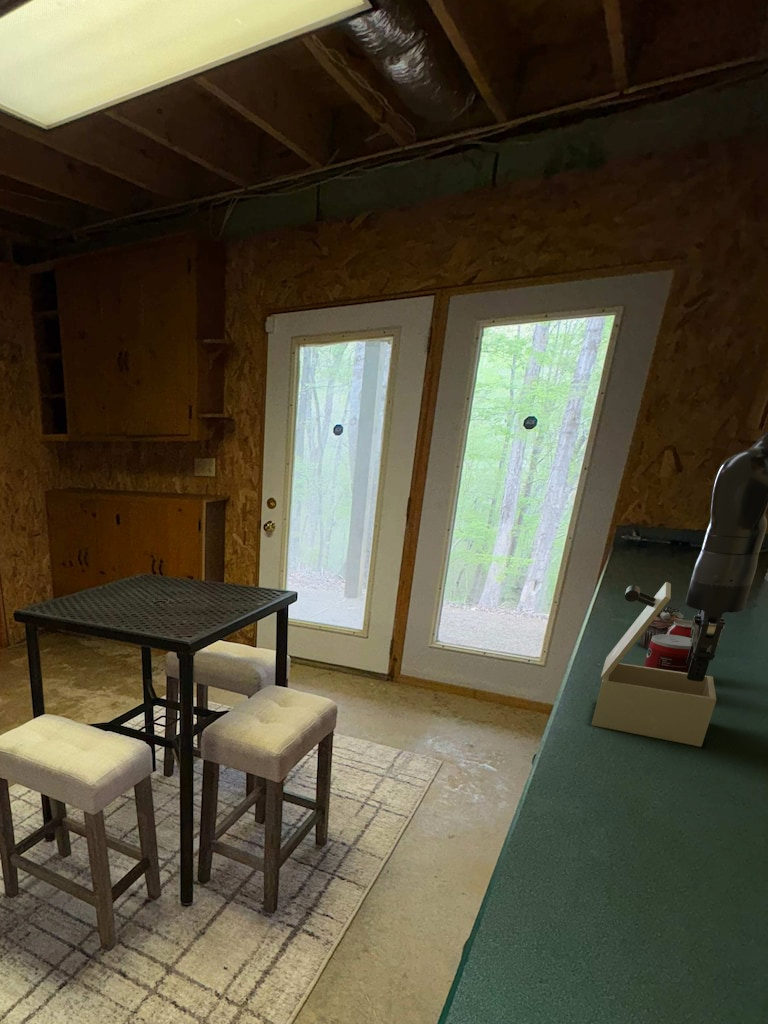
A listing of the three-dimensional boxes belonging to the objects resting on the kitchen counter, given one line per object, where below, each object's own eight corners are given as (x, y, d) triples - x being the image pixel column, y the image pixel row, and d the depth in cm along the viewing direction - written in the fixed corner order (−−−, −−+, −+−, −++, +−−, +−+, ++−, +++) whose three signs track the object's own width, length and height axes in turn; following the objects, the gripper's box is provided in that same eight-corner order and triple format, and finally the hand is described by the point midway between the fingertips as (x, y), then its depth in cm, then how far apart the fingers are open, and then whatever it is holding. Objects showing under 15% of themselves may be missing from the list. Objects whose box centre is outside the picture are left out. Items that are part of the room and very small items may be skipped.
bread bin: (698, 721, 114) (712, 676, 110) (701, 747, 104) (716, 699, 101) (597, 703, 123) (607, 661, 119) (591, 726, 113) (602, 681, 110)
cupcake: (663, 656, 146) (675, 615, 143) (626, 644, 155) (636, 605, 152) (695, 652, 148) (707, 611, 145) (657, 640, 157) (667, 601, 154)
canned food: (660, 682, 131) (674, 632, 127) (695, 696, 124) (712, 644, 120) (628, 685, 130) (641, 635, 126) (662, 700, 123) (677, 647, 119)
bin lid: (671, 583, 110) (638, 570, 112) (670, 598, 101) (635, 583, 103) (610, 660, 119) (581, 646, 121) (605, 680, 110) (574, 664, 112)
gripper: (756, 590, 94) (724, 690, 100) (748, 573, 104) (720, 665, 110) (692, 585, 98) (666, 681, 104) (691, 569, 108) (667, 657, 114)
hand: (694, 672), depth 107 cm, fingers open, 8 cm apart
